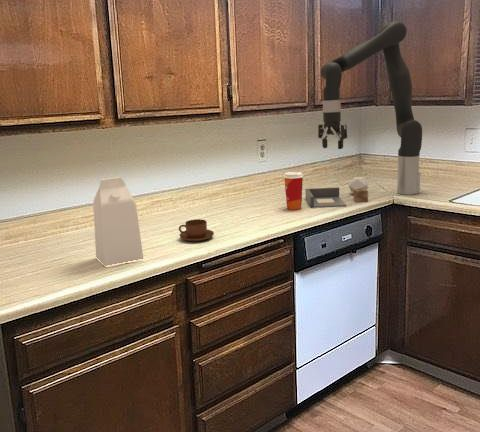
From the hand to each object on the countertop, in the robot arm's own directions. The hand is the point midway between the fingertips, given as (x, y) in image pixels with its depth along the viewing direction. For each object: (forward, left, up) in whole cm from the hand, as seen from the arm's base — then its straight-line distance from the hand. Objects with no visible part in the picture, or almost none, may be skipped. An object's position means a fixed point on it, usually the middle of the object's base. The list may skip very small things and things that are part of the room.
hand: (332, 148), depth 237 cm
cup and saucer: (+57, +54, -23) cm, 82 cm away
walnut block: (-11, +6, -23) cm, 26 cm away
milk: (+80, +74, -23) cm, 112 cm away
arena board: (+4, +6, -23) cm, 24 cm away
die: (-13, -8, -23) cm, 27 cm away
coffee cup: (+19, +15, -23) cm, 33 cm away
